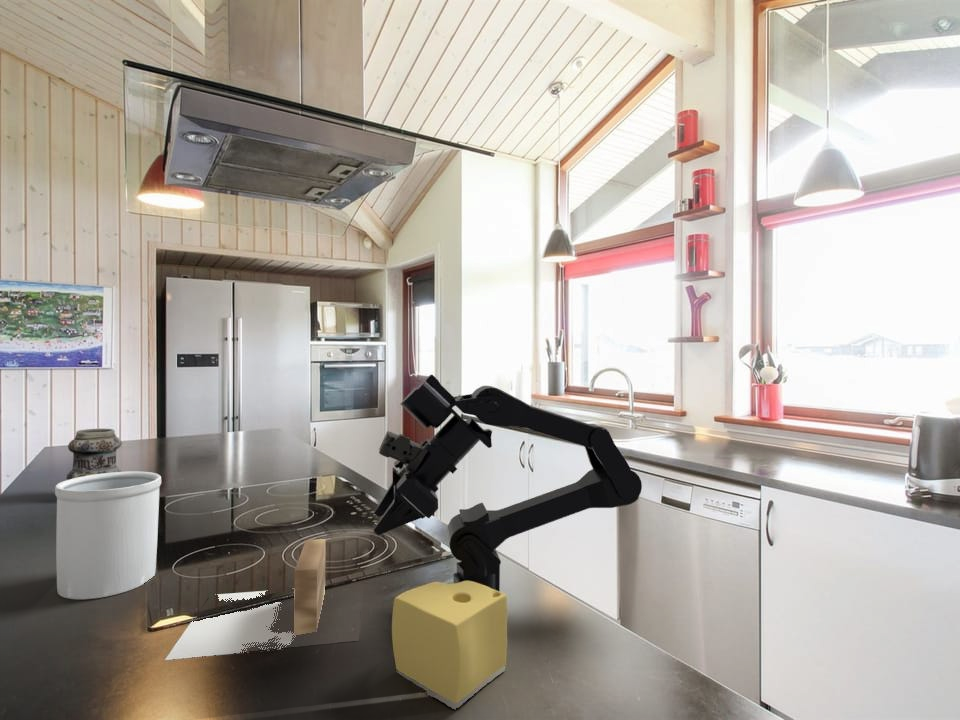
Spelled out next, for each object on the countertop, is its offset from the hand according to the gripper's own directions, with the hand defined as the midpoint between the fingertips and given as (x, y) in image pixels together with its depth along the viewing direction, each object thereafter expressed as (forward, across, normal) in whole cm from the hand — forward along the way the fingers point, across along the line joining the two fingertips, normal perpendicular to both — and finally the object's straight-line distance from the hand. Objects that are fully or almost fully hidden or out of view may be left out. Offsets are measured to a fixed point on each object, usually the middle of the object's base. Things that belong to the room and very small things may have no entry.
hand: (375, 523), depth 79 cm
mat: (+19, 0, -1) cm, 19 cm away
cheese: (+3, +18, +16) cm, 24 cm away
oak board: (+16, 0, +2) cm, 16 cm away
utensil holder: (+41, -18, -23) cm, 50 cm away
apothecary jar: (+63, -78, -46) cm, 110 cm away
